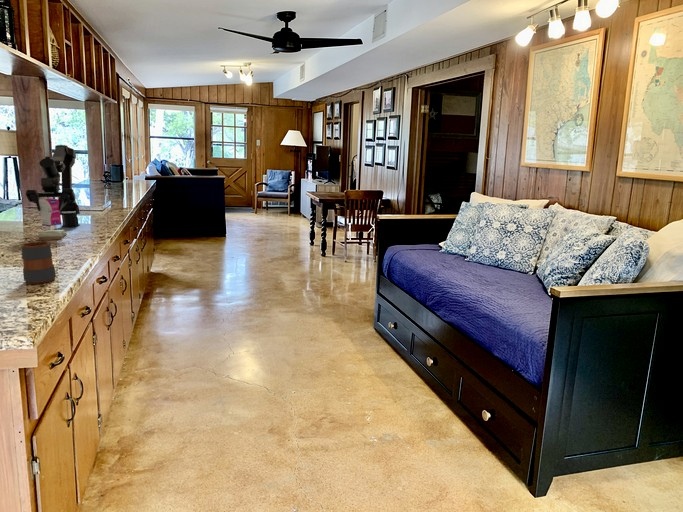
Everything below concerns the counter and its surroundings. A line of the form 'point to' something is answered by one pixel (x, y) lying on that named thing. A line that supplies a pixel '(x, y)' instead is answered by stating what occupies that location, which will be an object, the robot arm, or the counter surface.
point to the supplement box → (50, 212)
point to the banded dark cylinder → (37, 263)
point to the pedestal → (52, 234)
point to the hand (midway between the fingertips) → (49, 210)
